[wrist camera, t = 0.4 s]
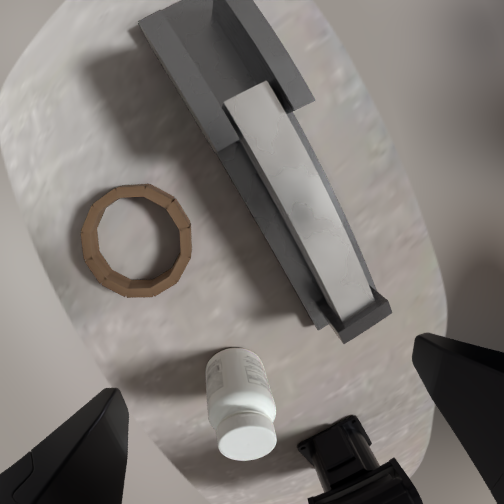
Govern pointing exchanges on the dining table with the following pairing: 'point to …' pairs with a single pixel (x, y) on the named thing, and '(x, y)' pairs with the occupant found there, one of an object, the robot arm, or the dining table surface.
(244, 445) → the pill bottle
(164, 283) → the bottle collar
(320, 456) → the robot arm
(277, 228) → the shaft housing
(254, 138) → the grey long bar
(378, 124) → the dining table surface
